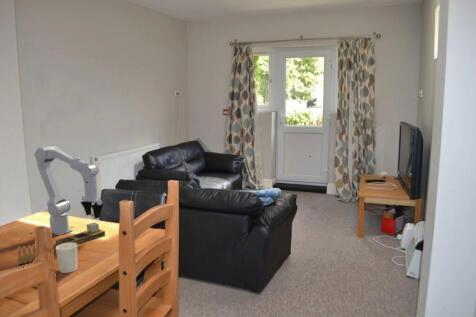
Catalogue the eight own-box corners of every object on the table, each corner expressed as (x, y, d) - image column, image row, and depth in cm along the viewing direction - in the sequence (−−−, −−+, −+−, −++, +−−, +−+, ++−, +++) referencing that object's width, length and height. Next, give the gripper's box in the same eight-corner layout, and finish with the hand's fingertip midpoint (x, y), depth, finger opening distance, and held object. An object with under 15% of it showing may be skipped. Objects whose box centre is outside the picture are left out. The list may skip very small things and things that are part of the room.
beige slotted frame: (55, 244, 190) (55, 239, 190) (96, 231, 206) (95, 227, 206) (64, 248, 185) (64, 243, 185) (105, 235, 201) (104, 231, 201)
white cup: (61, 265, 168) (59, 242, 166) (81, 264, 168) (79, 242, 166) (54, 274, 160) (52, 250, 158) (75, 273, 160) (73, 249, 159)
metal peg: (87, 236, 201) (86, 224, 199) (94, 233, 204) (94, 222, 202) (92, 238, 198) (91, 226, 197) (99, 235, 201) (98, 224, 200)
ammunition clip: (19, 276, 158) (15, 247, 156) (19, 274, 160) (16, 245, 158) (49, 270, 163) (46, 242, 161) (48, 269, 165) (46, 241, 162)
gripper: (75, 188, 198) (77, 215, 201) (91, 193, 189) (93, 221, 192) (88, 186, 204) (90, 212, 206) (105, 190, 195) (106, 217, 197)
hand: (92, 216), depth 199 cm, fingers open, 7 cm apart
